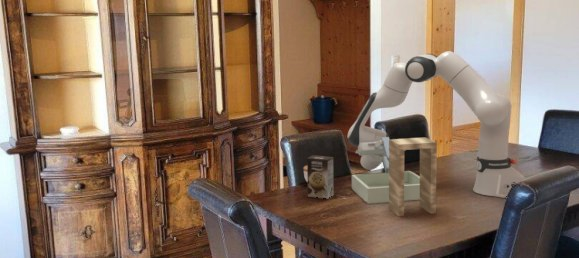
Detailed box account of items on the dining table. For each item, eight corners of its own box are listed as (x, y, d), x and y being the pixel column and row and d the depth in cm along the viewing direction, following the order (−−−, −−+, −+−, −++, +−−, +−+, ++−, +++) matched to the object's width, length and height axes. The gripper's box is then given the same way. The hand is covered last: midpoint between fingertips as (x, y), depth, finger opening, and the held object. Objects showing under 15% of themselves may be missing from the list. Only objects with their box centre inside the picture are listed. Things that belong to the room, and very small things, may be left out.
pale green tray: (410, 184, 236) (410, 170, 235) (431, 198, 214) (431, 183, 213) (351, 188, 231) (351, 174, 230) (367, 203, 210) (367, 188, 209)
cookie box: (307, 196, 222) (306, 157, 219) (314, 192, 227) (313, 154, 224) (327, 199, 217) (327, 159, 215) (334, 195, 223) (333, 156, 220)
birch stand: (424, 205, 206) (425, 137, 202) (435, 213, 197) (436, 142, 192) (388, 208, 204) (389, 139, 200) (398, 216, 194) (398, 144, 190)
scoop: (392, 139, 226) (394, 135, 224) (402, 172, 217) (404, 167, 215) (376, 140, 225) (377, 136, 223) (385, 173, 216) (387, 169, 213)
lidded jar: (308, 188, 234) (307, 167, 232) (300, 182, 244) (300, 161, 242) (331, 186, 236) (331, 165, 235) (323, 180, 247) (323, 159, 245)
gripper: (353, 146, 235) (361, 135, 222) (398, 144, 238) (409, 133, 225) (355, 160, 232) (363, 150, 220) (401, 157, 236) (412, 147, 223)
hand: (387, 141), depth 222 cm, fingers closed on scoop, 3 cm apart
